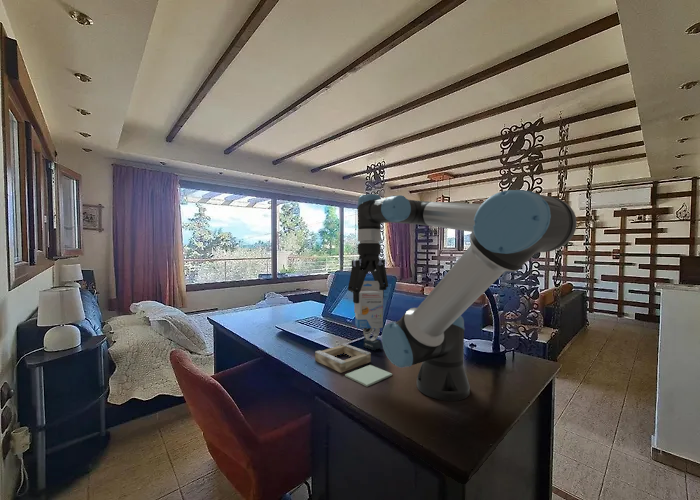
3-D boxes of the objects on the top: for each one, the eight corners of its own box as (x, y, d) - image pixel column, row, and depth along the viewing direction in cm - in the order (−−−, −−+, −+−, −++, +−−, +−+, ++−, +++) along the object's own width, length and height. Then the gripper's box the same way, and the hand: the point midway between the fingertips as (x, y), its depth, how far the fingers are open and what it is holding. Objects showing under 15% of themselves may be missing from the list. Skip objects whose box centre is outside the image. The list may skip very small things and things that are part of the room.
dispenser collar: (370, 361, 111) (370, 352, 111) (341, 372, 101) (341, 362, 101) (344, 351, 122) (344, 343, 122) (315, 360, 112) (315, 351, 112)
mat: (392, 375, 100) (392, 373, 100) (367, 386, 91) (367, 384, 91) (370, 366, 107) (370, 364, 107) (344, 376, 99) (344, 374, 99)
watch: (360, 348, 126) (360, 322, 126) (372, 344, 131) (373, 318, 131) (370, 351, 122) (370, 324, 122) (383, 347, 127) (383, 321, 127)
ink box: (357, 329, 96) (357, 282, 96) (355, 325, 101) (355, 280, 101) (383, 328, 97) (383, 282, 97) (379, 324, 102) (379, 280, 102)
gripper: (382, 243, 109) (382, 305, 109) (336, 242, 94) (336, 314, 94) (399, 243, 104) (398, 308, 104) (352, 241, 89) (352, 318, 89)
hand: (369, 311), depth 99 cm, fingers closed on ink box, 9 cm apart
